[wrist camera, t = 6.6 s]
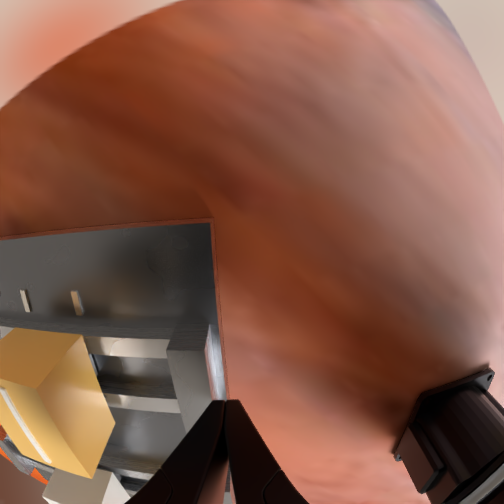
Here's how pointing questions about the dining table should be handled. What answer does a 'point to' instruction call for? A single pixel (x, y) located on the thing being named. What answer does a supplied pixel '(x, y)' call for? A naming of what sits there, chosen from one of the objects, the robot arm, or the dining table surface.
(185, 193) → the dining table surface
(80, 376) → the fader amber
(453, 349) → the dining table surface
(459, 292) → the dining table surface
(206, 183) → the dining table surface
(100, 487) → the fader ivory
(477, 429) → the robot arm
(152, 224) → the console
